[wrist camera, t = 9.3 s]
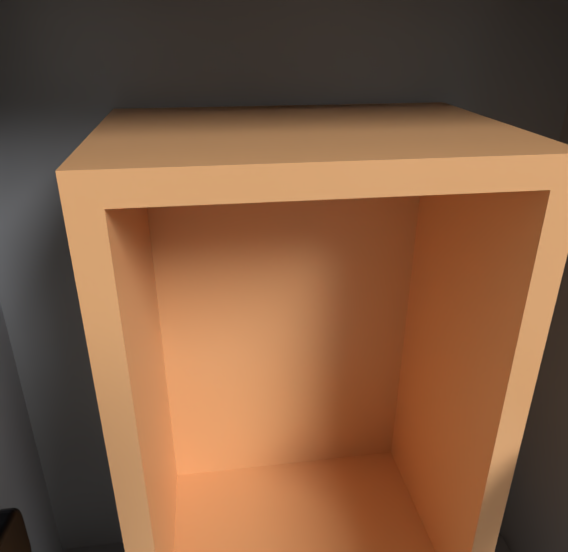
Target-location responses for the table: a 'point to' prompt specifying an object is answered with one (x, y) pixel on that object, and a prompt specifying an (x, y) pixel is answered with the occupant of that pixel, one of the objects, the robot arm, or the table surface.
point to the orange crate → (314, 319)
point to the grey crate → (223, 93)
